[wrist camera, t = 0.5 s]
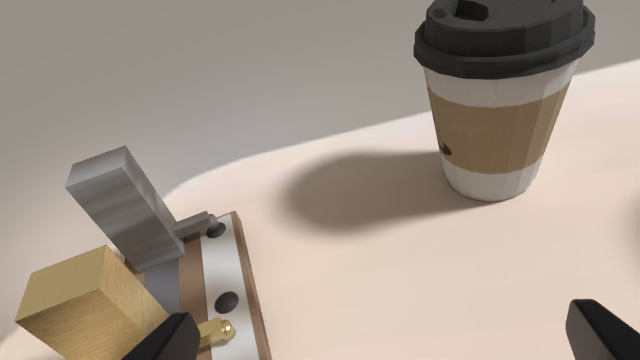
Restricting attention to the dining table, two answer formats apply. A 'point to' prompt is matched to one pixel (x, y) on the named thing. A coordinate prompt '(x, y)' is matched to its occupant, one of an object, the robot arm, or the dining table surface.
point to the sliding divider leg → (97, 309)
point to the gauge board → (175, 252)
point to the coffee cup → (499, 85)
